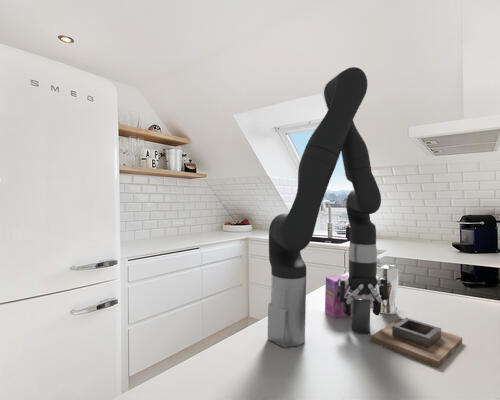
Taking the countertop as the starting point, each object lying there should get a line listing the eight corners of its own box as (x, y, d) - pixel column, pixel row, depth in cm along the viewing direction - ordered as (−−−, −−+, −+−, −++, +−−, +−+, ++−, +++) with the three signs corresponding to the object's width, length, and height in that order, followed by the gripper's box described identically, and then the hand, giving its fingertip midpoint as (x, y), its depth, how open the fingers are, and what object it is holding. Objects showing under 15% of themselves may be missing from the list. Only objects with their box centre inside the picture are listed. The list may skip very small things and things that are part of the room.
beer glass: (378, 305, 106) (379, 263, 106) (399, 310, 102) (401, 266, 102) (371, 311, 101) (373, 266, 101) (394, 317, 97) (395, 270, 96)
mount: (438, 368, 68) (439, 350, 68) (370, 341, 80) (371, 326, 80) (462, 343, 80) (462, 328, 80) (399, 323, 92) (400, 309, 92)
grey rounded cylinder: (364, 335, 83) (365, 303, 83) (348, 329, 87) (349, 298, 87) (372, 330, 87) (373, 299, 86) (357, 325, 90) (358, 295, 90)
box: (333, 318, 95) (334, 281, 95) (324, 311, 100) (325, 276, 100) (362, 315, 98) (363, 279, 97) (352, 309, 103) (352, 274, 103)
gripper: (344, 262, 82) (343, 321, 83) (393, 261, 84) (393, 319, 84) (333, 256, 89) (333, 311, 90) (379, 255, 91) (378, 308, 92)
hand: (362, 315), depth 87 cm, fingers open, 8 cm apart
